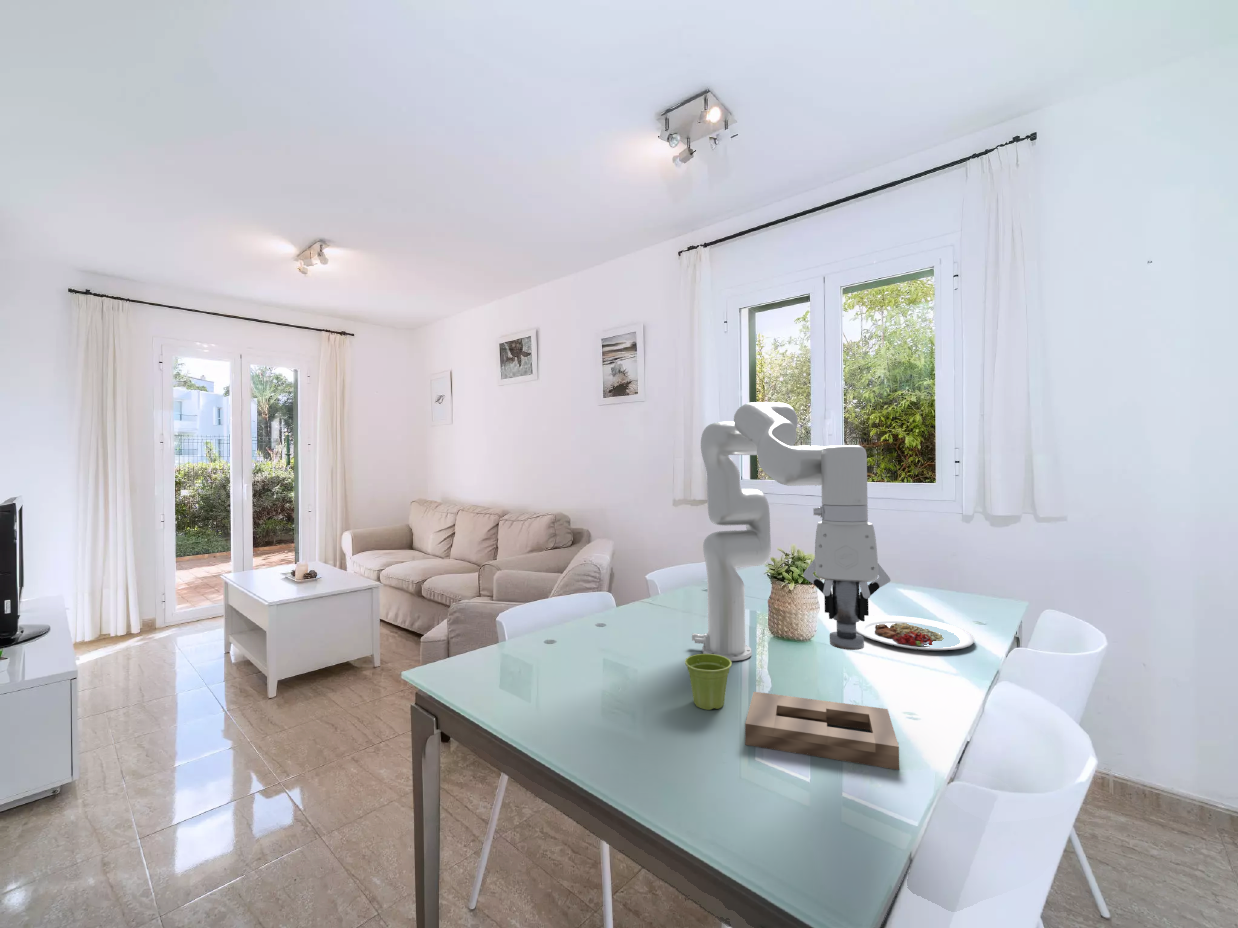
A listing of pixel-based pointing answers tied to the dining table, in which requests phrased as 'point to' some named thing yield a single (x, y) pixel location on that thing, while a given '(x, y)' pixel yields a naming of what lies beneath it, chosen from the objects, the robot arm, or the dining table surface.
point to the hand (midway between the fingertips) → (846, 617)
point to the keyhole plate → (822, 729)
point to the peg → (846, 615)
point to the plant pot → (708, 679)
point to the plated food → (910, 632)
